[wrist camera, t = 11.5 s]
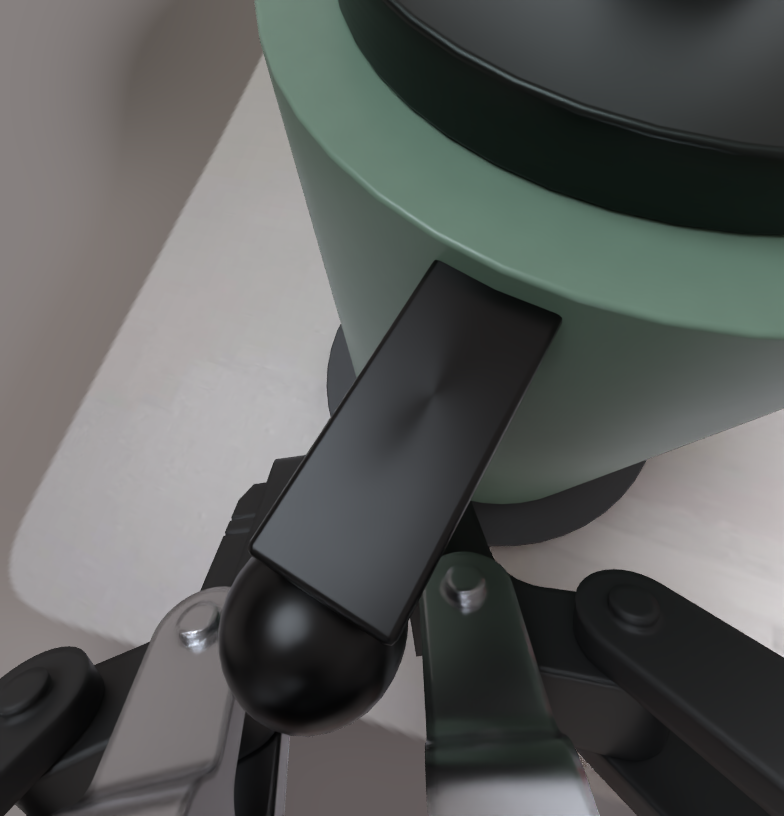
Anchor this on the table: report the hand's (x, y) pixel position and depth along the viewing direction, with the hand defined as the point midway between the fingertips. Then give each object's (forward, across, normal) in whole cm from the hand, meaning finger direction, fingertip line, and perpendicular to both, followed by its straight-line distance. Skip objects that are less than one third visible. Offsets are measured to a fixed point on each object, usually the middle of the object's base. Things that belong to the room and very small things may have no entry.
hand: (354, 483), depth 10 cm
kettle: (+8, -5, +1) cm, 10 cm away
